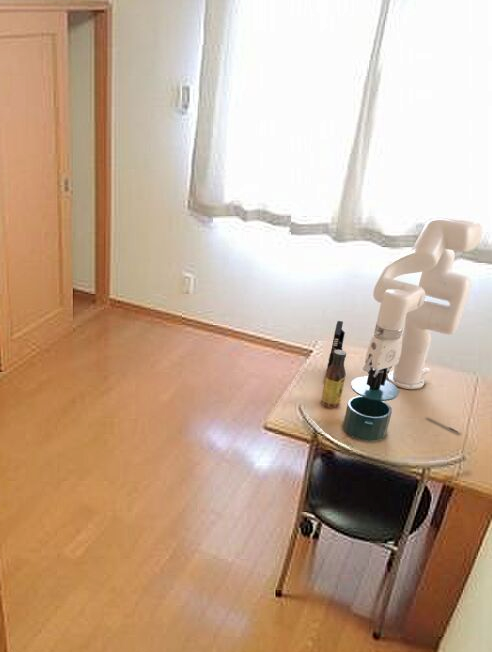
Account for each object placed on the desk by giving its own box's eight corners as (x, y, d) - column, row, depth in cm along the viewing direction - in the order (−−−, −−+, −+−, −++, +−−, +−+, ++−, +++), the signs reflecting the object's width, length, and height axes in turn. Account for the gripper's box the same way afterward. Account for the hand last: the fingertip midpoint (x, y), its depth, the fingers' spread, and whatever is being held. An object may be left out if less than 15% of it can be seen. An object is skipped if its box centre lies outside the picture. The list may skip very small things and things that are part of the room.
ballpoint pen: (458, 433, 210) (459, 431, 209) (457, 434, 209) (458, 432, 209) (428, 419, 217) (429, 417, 216) (427, 420, 216) (427, 417, 216)
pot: (385, 418, 216) (390, 395, 212) (385, 450, 201) (392, 426, 196) (344, 411, 219) (348, 388, 215) (341, 442, 204) (347, 418, 199)
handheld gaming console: (326, 368, 245) (336, 320, 235) (339, 371, 243) (349, 322, 233) (323, 383, 235) (333, 334, 225) (336, 386, 234) (346, 336, 223)
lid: (397, 383, 206) (402, 363, 203) (398, 406, 195) (404, 385, 191) (350, 376, 210) (355, 356, 206) (349, 397, 198) (354, 377, 194)
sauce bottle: (340, 410, 220) (351, 358, 210) (321, 407, 221) (331, 356, 211) (339, 400, 226) (349, 349, 215) (320, 398, 227) (330, 347, 216)
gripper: (377, 341, 186) (364, 396, 195) (417, 331, 192) (403, 384, 202) (358, 331, 191) (346, 385, 201) (398, 321, 198) (385, 373, 207)
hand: (375, 384), depth 201 cm, fingers closed on lid, 3 cm apart
